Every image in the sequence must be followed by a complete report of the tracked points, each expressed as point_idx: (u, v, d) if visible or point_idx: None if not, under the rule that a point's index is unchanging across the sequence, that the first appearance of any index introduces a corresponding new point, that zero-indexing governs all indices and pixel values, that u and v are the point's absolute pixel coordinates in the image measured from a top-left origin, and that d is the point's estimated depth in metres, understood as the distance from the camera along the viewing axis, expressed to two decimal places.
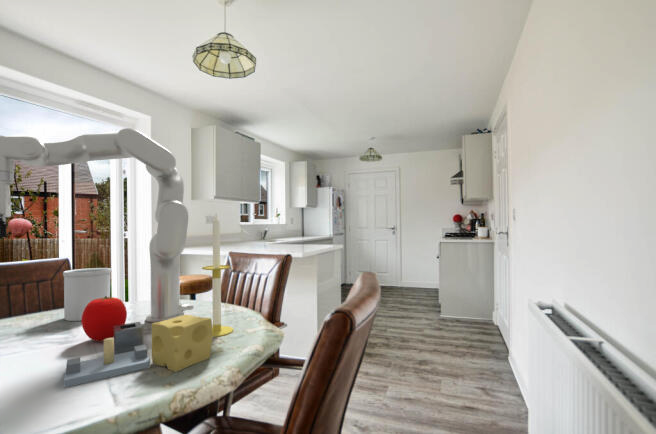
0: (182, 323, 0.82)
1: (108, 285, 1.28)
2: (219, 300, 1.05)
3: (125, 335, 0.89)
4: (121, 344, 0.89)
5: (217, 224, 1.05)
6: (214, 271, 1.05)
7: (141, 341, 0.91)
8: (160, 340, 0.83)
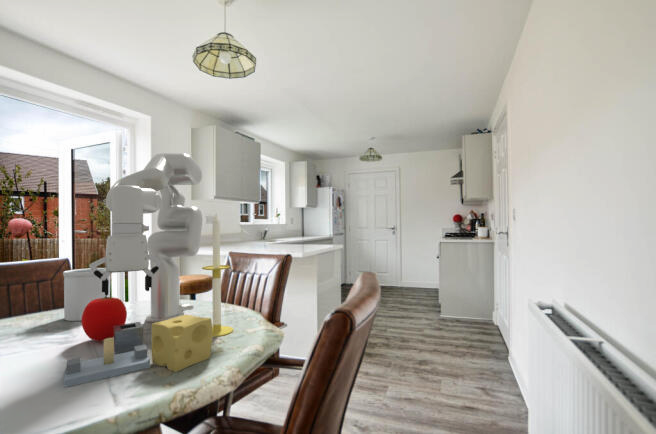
0: (182, 323, 0.82)
1: (108, 285, 1.28)
2: (219, 300, 1.05)
3: (125, 335, 0.89)
4: (121, 344, 0.89)
5: (217, 224, 1.05)
6: (214, 271, 1.05)
7: (141, 341, 0.91)
8: (160, 340, 0.83)
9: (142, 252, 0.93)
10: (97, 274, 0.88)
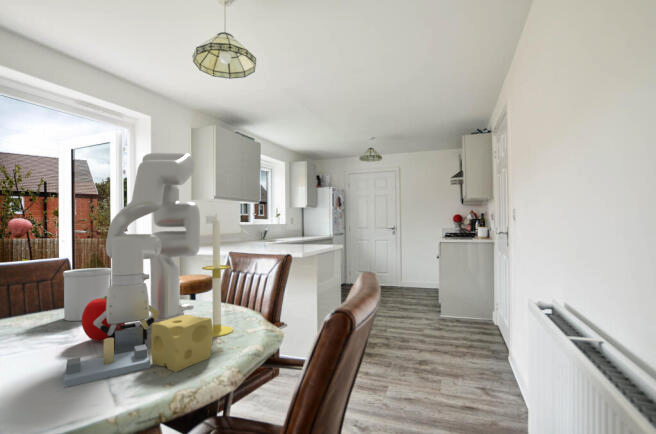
0: (182, 323, 0.82)
1: (108, 285, 1.28)
2: (219, 300, 1.05)
3: (125, 335, 0.89)
4: (121, 344, 0.89)
5: (217, 224, 1.05)
6: (214, 271, 1.05)
7: (141, 341, 0.91)
8: (160, 340, 0.83)
9: (142, 302, 0.93)
10: (104, 329, 0.88)
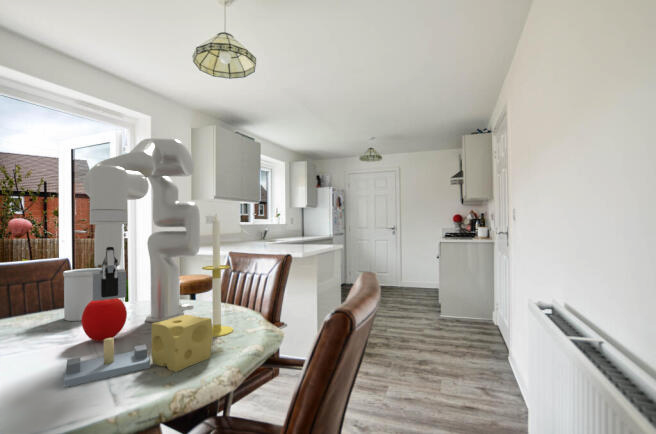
0: (182, 323, 0.82)
1: None
2: (219, 300, 1.05)
3: None
4: None
5: (217, 224, 1.05)
6: (214, 271, 1.05)
7: None
8: (160, 340, 0.83)
9: None
10: None
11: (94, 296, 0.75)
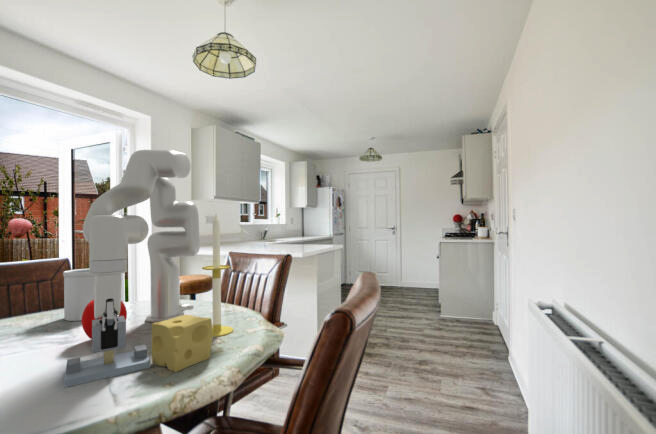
0: (182, 323, 0.82)
1: None
2: (219, 300, 1.05)
3: None
4: None
5: (217, 224, 1.05)
6: (214, 271, 1.05)
7: None
8: (160, 340, 0.83)
9: None
10: None
11: (94, 348, 0.75)
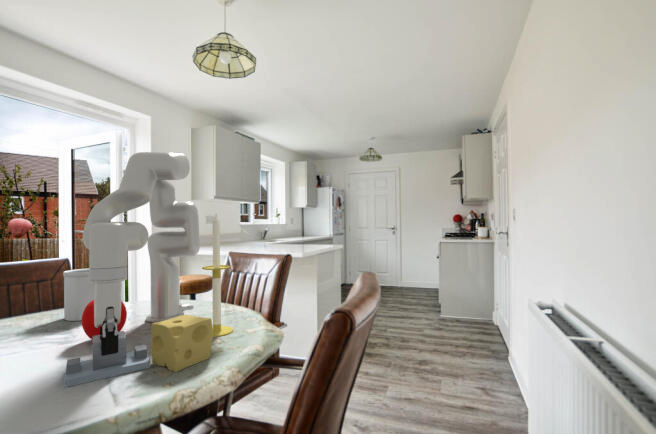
0: (182, 323, 0.82)
1: None
2: (219, 300, 1.05)
3: None
4: None
5: (217, 224, 1.05)
6: (214, 271, 1.05)
7: None
8: (160, 340, 0.83)
9: None
10: None
11: (94, 365, 0.75)
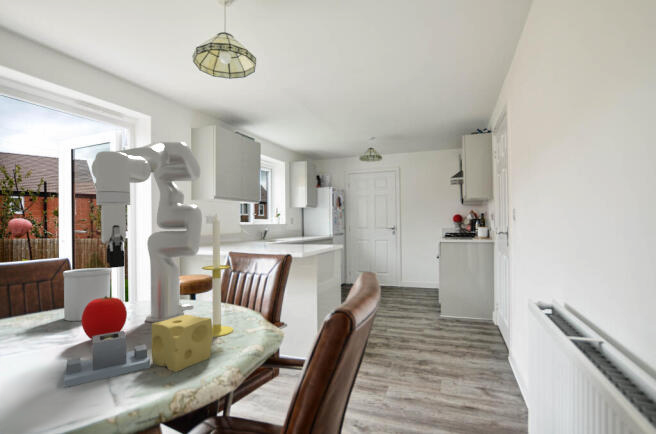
0: (182, 323, 0.82)
1: (108, 285, 1.28)
2: (219, 300, 1.05)
3: None
4: None
5: (217, 224, 1.05)
6: (214, 271, 1.05)
7: None
8: (160, 340, 0.83)
9: None
10: None
11: (94, 365, 0.75)
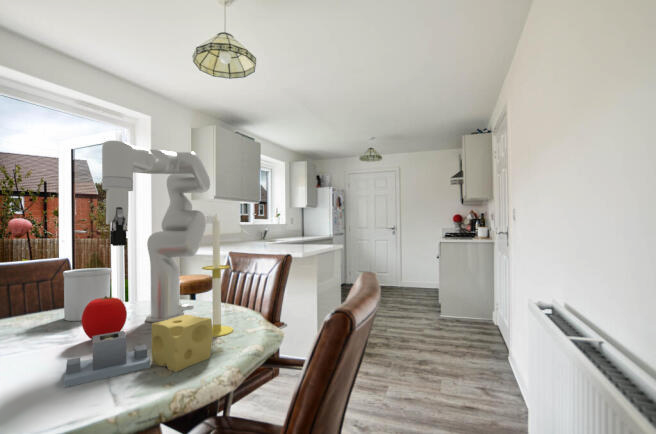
0: (182, 323, 0.82)
1: (108, 285, 1.28)
2: (219, 300, 1.05)
3: None
4: None
5: (217, 224, 1.05)
6: (214, 271, 1.05)
7: None
8: (160, 340, 0.83)
9: None
10: None
11: (94, 365, 0.75)
